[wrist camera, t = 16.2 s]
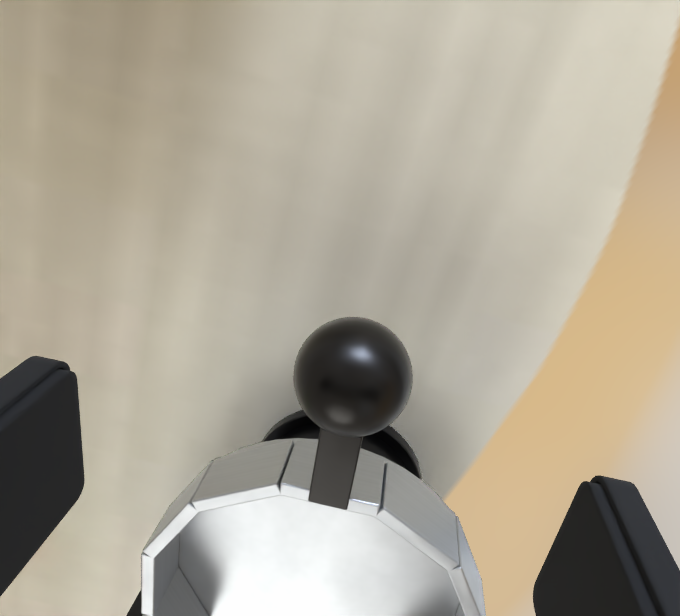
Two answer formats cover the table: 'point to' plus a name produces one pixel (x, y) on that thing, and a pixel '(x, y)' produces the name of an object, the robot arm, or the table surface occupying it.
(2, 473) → the robot arm
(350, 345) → the grey pan
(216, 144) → the table surface
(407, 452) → the stand
